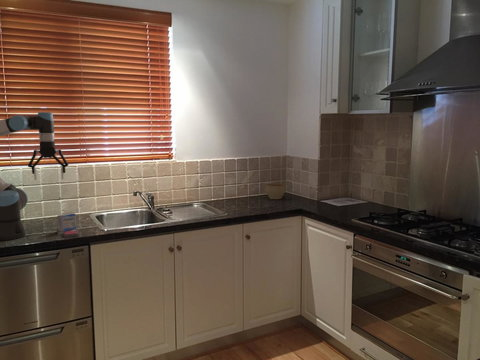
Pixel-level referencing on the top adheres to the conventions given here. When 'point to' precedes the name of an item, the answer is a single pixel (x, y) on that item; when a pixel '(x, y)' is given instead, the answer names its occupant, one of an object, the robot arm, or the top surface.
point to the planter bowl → (275, 190)
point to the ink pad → (71, 233)
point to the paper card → (65, 231)
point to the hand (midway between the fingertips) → (49, 179)
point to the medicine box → (66, 222)
